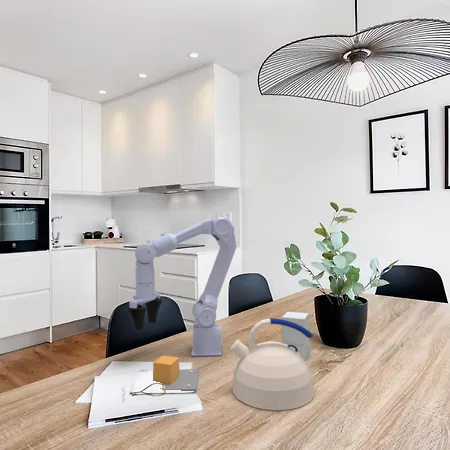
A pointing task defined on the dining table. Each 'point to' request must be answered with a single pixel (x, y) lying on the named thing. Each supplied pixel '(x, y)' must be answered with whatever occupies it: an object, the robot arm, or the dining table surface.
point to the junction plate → (184, 381)
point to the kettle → (272, 372)
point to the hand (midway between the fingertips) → (145, 325)
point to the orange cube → (166, 369)
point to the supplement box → (296, 332)
